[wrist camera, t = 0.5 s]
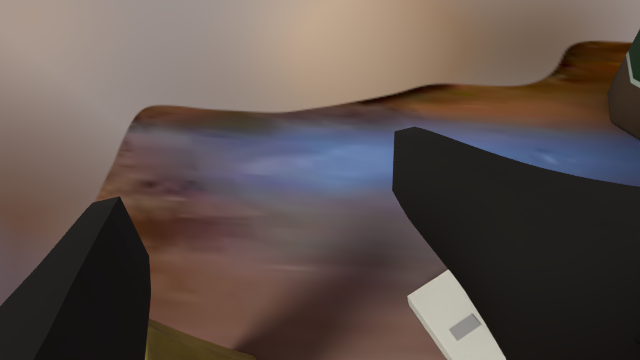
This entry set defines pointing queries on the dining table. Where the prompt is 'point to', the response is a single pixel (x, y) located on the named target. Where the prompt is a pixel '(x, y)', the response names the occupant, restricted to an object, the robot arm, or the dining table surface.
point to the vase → (184, 346)
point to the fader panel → (453, 320)
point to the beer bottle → (627, 92)
